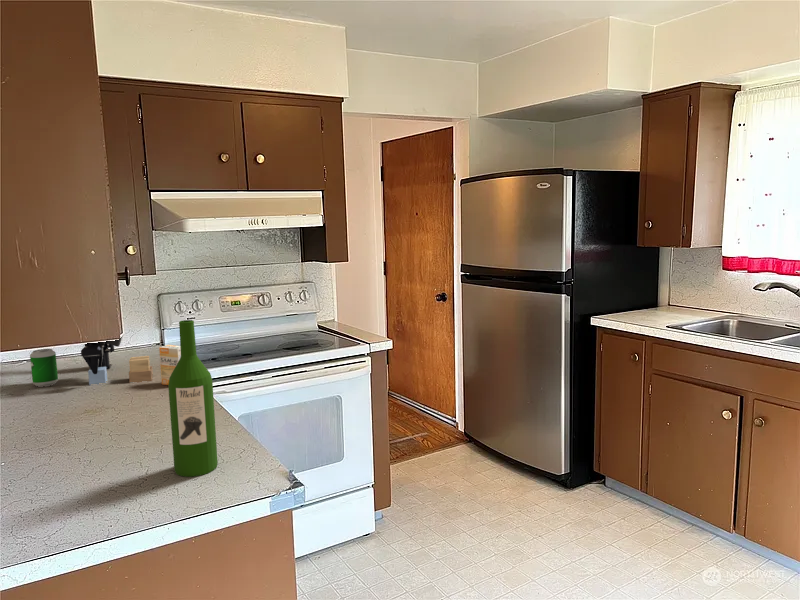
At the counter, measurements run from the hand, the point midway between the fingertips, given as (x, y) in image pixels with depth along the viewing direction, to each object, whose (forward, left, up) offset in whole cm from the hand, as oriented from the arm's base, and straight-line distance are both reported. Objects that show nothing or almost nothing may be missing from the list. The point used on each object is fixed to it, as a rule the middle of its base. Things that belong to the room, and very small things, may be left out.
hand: (97, 371), depth 202 cm
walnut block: (+2, +14, -4) cm, 15 cm away
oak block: (+2, +14, 0) cm, 14 cm away
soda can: (-5, -17, -4) cm, 18 cm away
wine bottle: (+92, +31, -4) cm, 97 cm away
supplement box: (+14, +25, -4) cm, 29 cm away
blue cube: (0, 0, -4) cm, 4 cm away
